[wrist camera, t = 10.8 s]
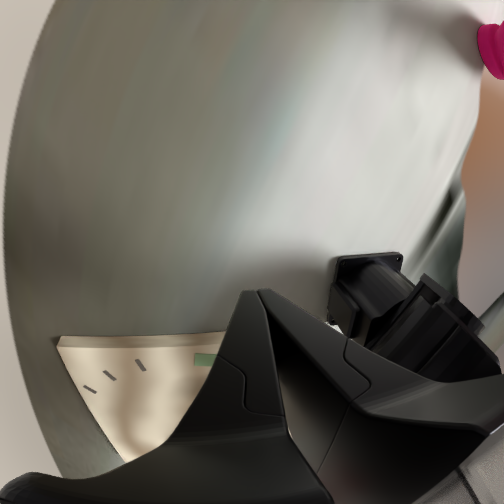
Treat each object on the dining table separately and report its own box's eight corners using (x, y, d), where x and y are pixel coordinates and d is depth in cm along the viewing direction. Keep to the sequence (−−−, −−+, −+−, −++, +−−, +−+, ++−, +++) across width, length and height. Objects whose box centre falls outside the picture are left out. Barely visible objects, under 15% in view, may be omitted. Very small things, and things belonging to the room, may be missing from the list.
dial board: (318, 320, 25) (324, 332, 24) (292, 442, 35) (295, 451, 33) (61, 335, 22) (56, 347, 20) (126, 453, 31) (125, 462, 30)
